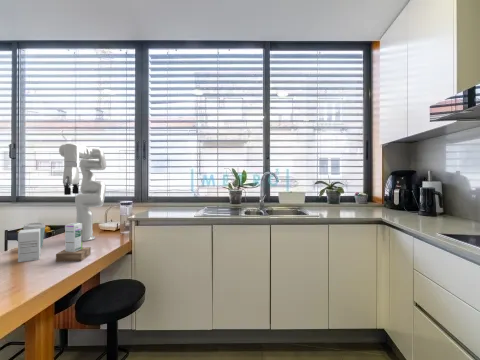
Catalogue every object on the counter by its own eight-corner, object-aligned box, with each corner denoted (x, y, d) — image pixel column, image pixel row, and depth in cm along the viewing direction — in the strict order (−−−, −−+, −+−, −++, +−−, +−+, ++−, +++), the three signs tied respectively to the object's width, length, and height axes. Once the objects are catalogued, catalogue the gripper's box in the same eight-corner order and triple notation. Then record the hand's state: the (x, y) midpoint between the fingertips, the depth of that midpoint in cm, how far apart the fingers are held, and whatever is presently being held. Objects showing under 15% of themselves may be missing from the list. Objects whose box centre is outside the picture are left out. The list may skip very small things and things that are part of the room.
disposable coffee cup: (49, 247, 163) (49, 223, 163) (29, 252, 153) (29, 226, 153) (39, 245, 167) (39, 221, 167) (19, 249, 158) (19, 224, 157)
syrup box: (74, 252, 141) (74, 224, 140) (64, 251, 141) (64, 224, 141) (82, 249, 146) (82, 222, 146) (72, 248, 147) (73, 222, 147)
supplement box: (19, 257, 143) (19, 229, 143) (40, 255, 148) (40, 228, 148) (17, 262, 135) (17, 233, 135) (39, 259, 140) (39, 231, 140)
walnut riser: (67, 254, 149) (67, 247, 149) (90, 254, 151) (90, 247, 151) (55, 261, 137) (56, 254, 137) (81, 261, 139) (81, 253, 139)
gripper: (71, 165, 165) (71, 193, 165) (56, 164, 148) (56, 195, 148) (84, 165, 166) (84, 193, 166) (71, 164, 149) (71, 195, 149)
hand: (71, 194), depth 157 cm, fingers open, 9 cm apart
